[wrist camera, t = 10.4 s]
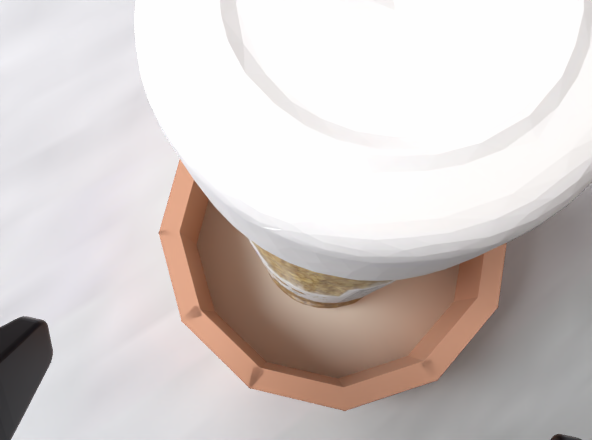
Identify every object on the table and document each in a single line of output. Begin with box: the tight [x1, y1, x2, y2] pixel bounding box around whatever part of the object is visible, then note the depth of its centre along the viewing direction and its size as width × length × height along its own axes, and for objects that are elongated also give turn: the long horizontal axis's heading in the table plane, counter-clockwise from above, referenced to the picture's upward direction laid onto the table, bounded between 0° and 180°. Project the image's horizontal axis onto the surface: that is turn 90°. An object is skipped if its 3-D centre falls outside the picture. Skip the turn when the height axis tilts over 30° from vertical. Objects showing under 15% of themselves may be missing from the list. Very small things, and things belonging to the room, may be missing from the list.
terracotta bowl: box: [159, 160, 507, 411], centre depth 16 cm, size 10×10×3 cm
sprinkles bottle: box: [134, 0, 592, 308], centre depth 11 cm, size 5×5×14 cm
